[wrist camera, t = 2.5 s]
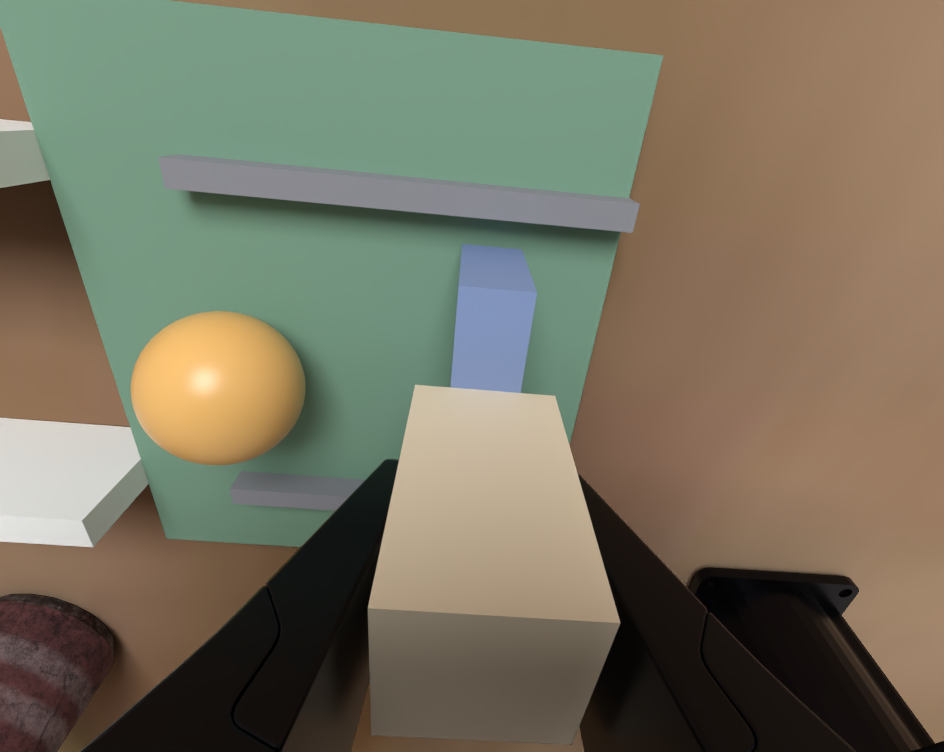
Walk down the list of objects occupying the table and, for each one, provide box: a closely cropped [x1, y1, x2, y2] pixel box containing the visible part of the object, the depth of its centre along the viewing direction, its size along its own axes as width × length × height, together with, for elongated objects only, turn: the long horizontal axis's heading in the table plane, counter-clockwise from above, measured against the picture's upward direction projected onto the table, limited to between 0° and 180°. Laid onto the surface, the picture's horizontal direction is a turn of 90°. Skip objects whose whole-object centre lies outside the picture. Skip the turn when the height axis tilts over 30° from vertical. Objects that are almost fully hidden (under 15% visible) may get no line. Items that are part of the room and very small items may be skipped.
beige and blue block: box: [368, 244, 620, 745], centre depth 9 cm, size 3×7×8 cm, turn 175°
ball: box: [130, 311, 306, 465], centre depth 11 cm, size 4×4×4 cm
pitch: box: [0, 0, 663, 547], centre depth 13 cm, size 13×15×2 cm
